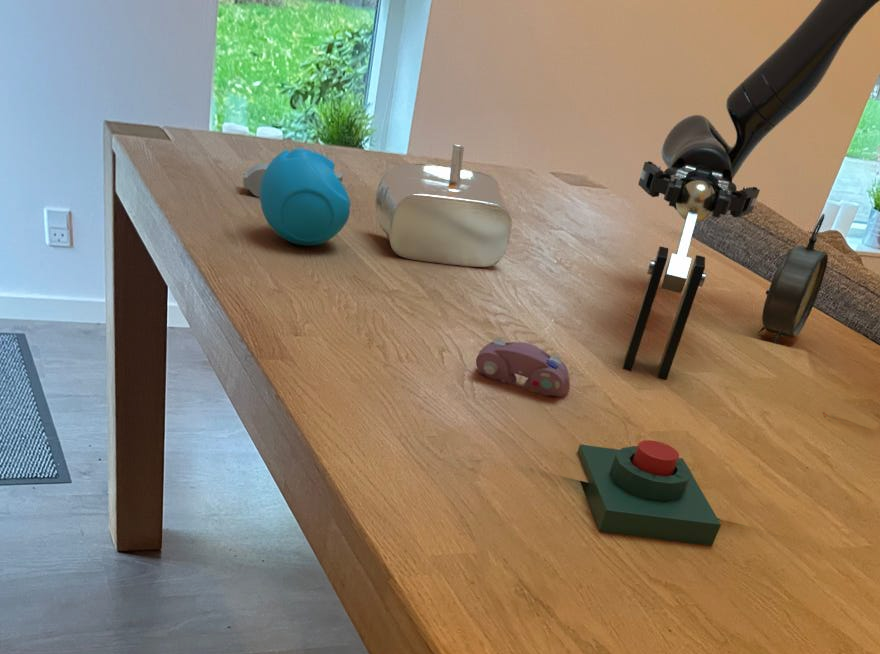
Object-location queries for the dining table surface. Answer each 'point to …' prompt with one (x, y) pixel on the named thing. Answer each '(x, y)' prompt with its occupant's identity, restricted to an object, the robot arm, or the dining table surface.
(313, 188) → the teal rounded lump
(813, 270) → the alarm clock
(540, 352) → the video game controller
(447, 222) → the vr headset
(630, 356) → the bracket
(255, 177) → the bunny figurine
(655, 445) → the button
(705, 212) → the lever
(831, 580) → the dining table surface
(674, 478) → the box
